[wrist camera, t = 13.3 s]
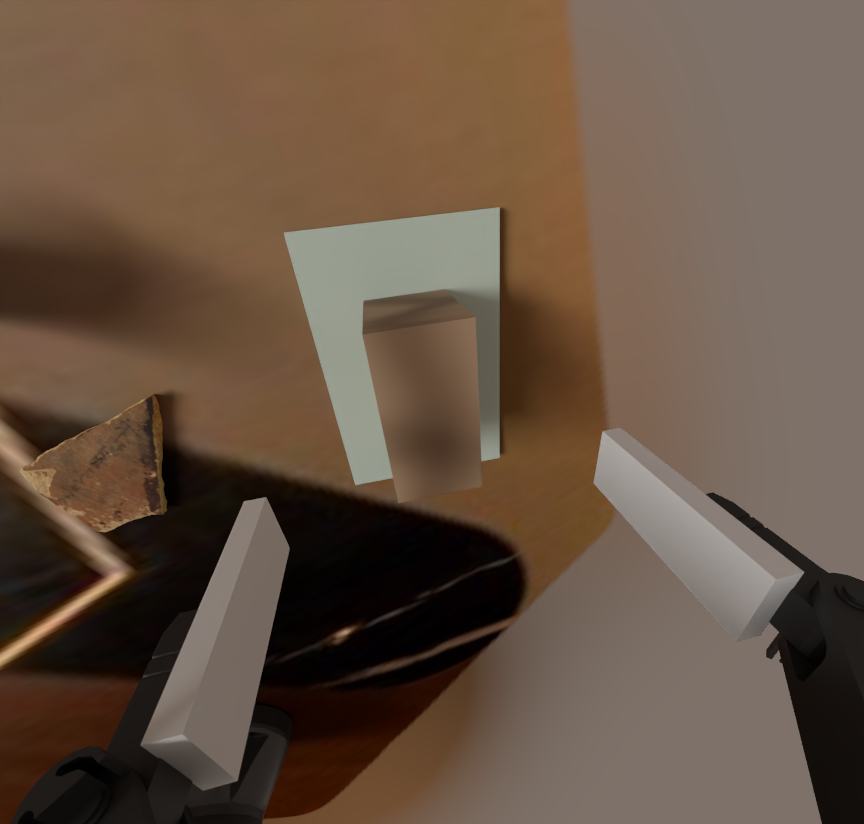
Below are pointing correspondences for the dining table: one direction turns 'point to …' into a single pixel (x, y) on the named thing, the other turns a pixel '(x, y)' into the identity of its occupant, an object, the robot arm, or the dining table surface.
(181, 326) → the dining table surface
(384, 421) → the beige block
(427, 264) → the felt mat
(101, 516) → the shard
